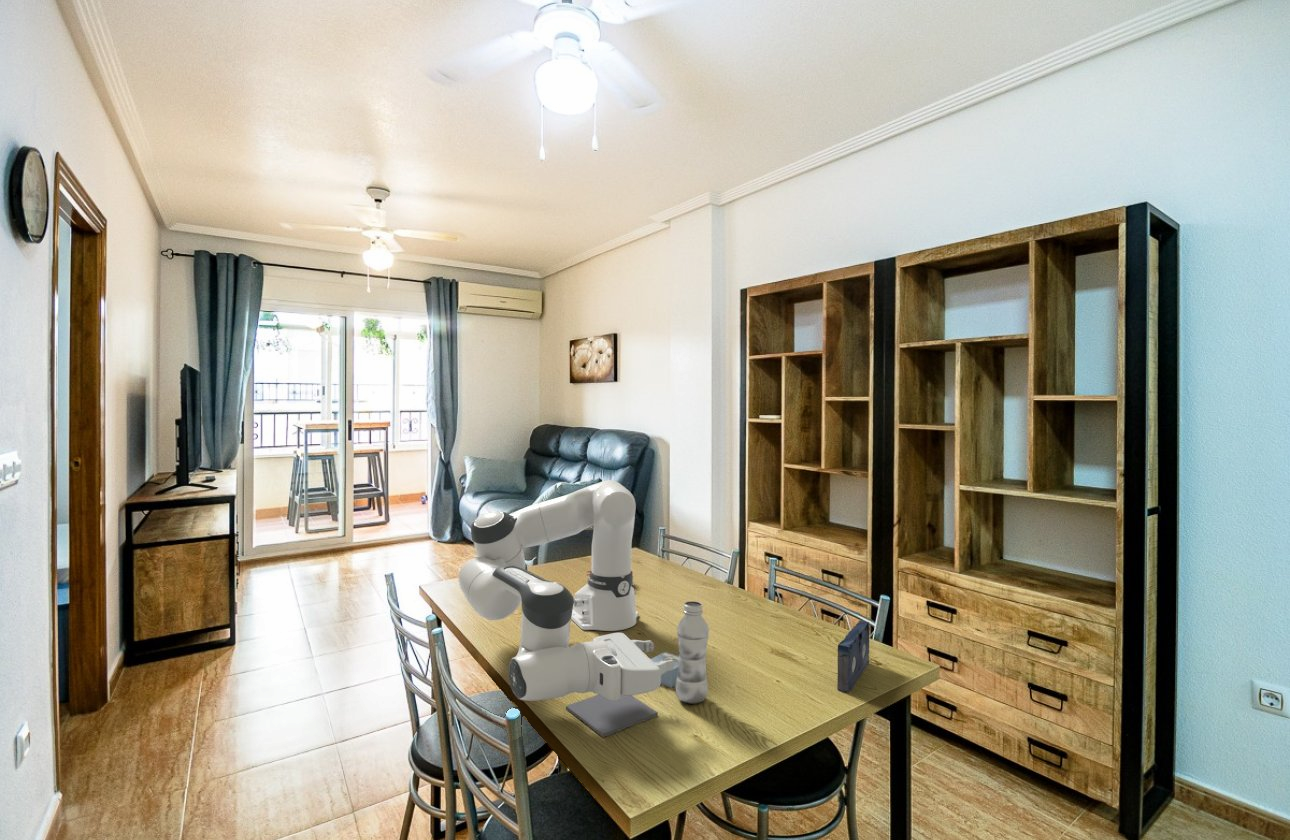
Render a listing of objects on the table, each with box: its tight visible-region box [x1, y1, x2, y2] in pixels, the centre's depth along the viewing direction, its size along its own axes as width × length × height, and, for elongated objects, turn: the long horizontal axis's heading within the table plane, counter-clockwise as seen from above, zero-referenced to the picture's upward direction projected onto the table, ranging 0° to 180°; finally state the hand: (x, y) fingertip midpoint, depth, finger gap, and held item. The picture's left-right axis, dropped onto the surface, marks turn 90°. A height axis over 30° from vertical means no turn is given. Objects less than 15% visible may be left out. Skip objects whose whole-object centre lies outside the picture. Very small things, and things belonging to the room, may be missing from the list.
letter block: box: [650, 651, 679, 688], centre depth 134 cm, size 7×7×4 cm
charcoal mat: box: [565, 694, 659, 738], centre depth 118 cm, size 13×13×1 cm
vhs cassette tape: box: [836, 620, 871, 694], centre depth 136 cm, size 18×3×10 cm, turn 145°
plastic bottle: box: [674, 600, 710, 704], centre depth 123 cm, size 6×7×20 cm
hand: (662, 654), depth 120 cm, fingers open, 8 cm apart
